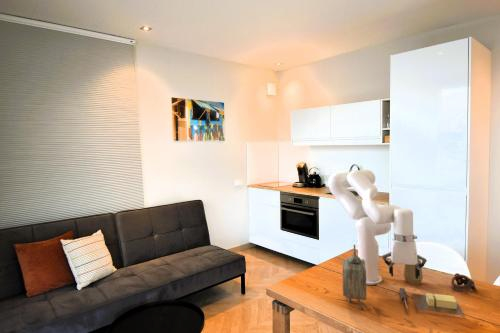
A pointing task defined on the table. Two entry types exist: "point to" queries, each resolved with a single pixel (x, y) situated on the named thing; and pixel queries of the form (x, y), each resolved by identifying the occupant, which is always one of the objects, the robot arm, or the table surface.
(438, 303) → the butter
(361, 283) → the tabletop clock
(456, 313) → the cutting board
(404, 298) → the knife
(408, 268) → the squeeze bottle
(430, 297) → the butter slice
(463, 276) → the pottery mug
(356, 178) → the robot arm
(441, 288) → the table surface
